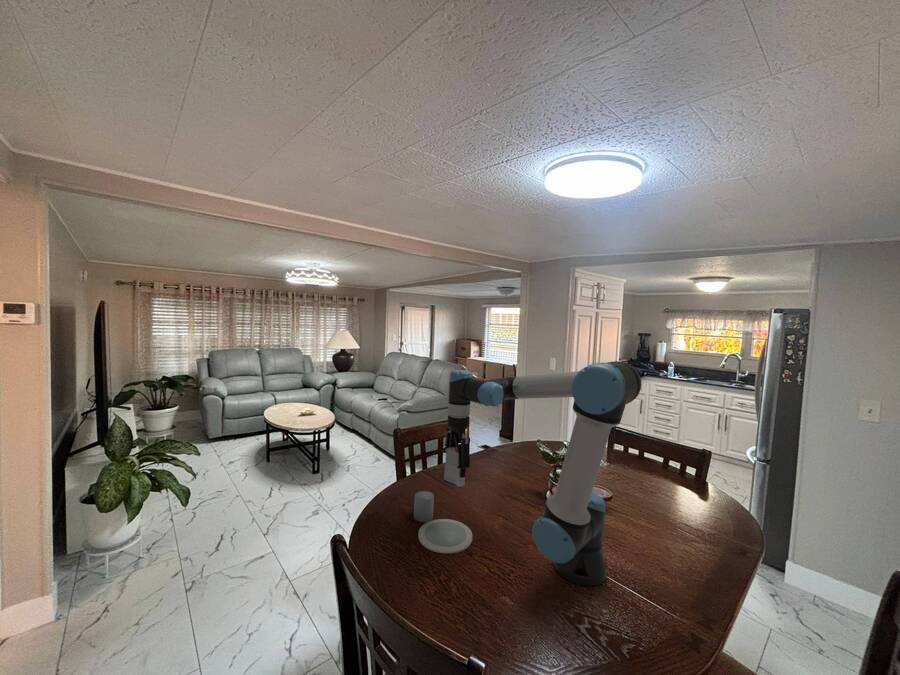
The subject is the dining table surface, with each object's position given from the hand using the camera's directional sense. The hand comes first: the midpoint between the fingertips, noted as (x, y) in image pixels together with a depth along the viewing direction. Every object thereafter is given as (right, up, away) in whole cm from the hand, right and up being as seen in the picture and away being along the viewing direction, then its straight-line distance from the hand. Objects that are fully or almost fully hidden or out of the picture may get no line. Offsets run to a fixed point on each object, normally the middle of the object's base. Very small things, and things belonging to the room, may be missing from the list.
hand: (455, 480), depth 129 cm
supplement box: (0, -1, 0) cm, 1 cm away
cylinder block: (-12, -16, +7) cm, 21 cm away
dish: (-3, -17, -4) cm, 18 cm away
